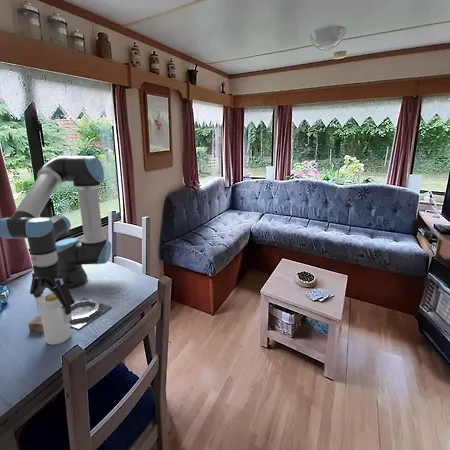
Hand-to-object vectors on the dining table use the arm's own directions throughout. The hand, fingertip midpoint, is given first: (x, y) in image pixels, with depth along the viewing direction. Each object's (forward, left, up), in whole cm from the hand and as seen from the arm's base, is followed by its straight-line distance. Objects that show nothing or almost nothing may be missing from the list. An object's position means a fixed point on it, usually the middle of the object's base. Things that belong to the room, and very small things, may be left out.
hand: (55, 316), depth 100 cm
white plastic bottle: (0, 0, -10) cm, 10 cm away
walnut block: (-12, +1, -10) cm, 16 cm away
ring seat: (-6, +15, -10) cm, 19 cm away
